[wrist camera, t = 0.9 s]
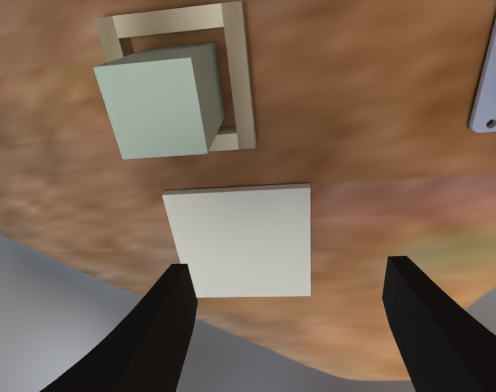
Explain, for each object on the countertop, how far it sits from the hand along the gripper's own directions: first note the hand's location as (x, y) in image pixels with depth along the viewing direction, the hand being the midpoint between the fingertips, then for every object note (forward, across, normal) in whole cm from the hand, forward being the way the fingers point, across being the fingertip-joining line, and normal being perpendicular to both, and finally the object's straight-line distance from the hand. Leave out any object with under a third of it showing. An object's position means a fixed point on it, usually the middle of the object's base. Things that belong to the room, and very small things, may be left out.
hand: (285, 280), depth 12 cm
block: (+10, +5, -5) cm, 13 cm away
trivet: (+10, +3, +7) cm, 13 cm away
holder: (+10, +5, -5) cm, 13 cm away
